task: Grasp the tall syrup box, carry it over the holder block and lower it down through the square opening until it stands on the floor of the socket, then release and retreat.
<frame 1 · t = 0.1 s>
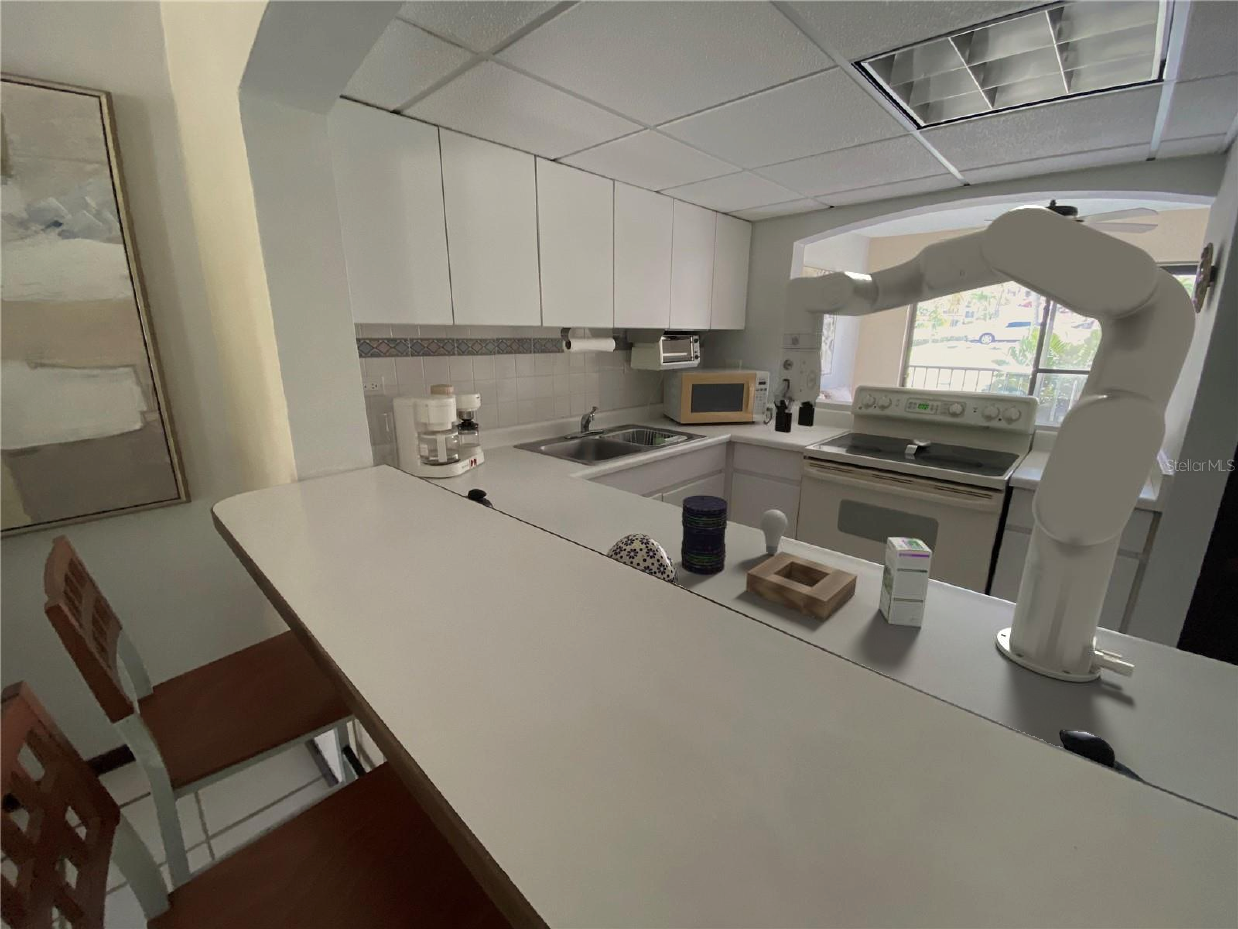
hand: (794, 428, 102), 31 cm above the counter, tool pointing down, fingers open, 9 cm apart
storage jar: (702, 566, 111), on the counter
syrup box: (898, 618, 89), on the counter
holder block: (799, 591, 99), on the counter
lightbulb: (771, 555, 116), on the counter
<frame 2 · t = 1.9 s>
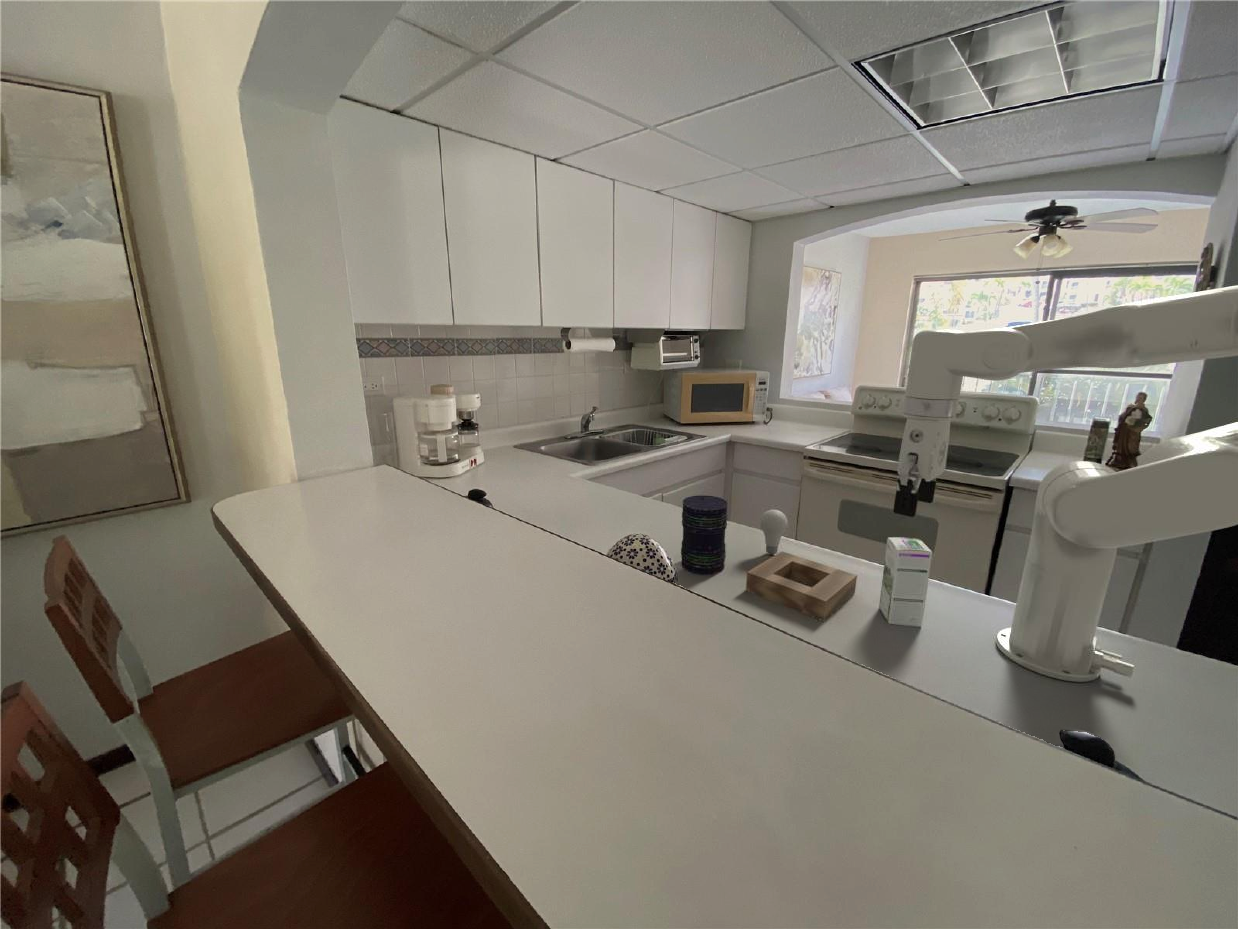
hand: (913, 507, 84), 21 cm above the counter, tool pointing down, fingers open, 9 cm apart
nothing on the counter moved.
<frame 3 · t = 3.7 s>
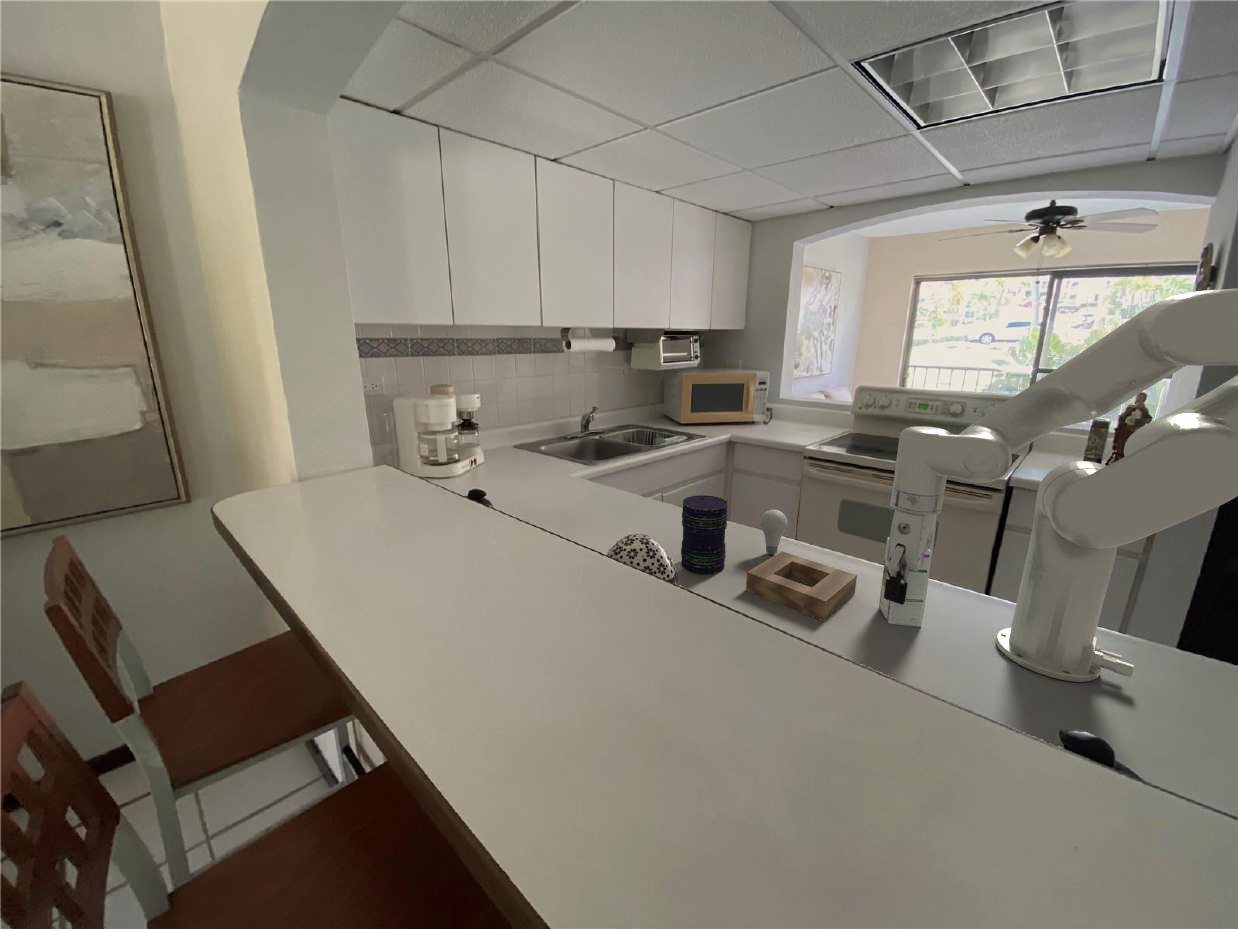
hand: (902, 592, 88), 5 cm above the counter, tool pointing down, fingers closed on syrup box, 7 cm apart
syrup box: (898, 618, 89), on the counter, touching gripper
everything else where it was.
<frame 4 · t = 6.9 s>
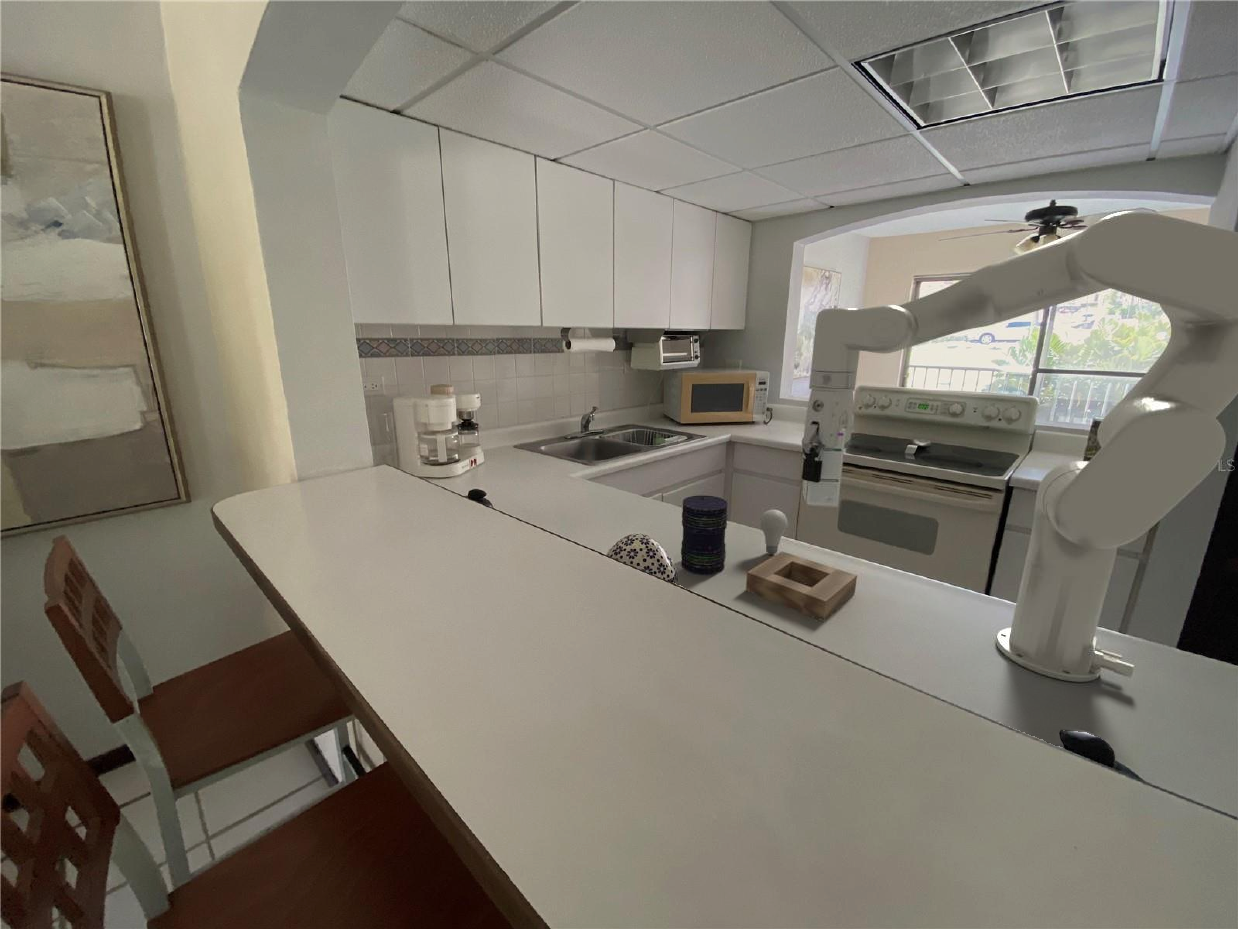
hand: (821, 475, 92), 24 cm above the counter, tool pointing down, fingers closed on syrup box, 7 cm apart
syrup box: (818, 502, 93), point 19 cm above the counter, touching gripper
everything else where it was.
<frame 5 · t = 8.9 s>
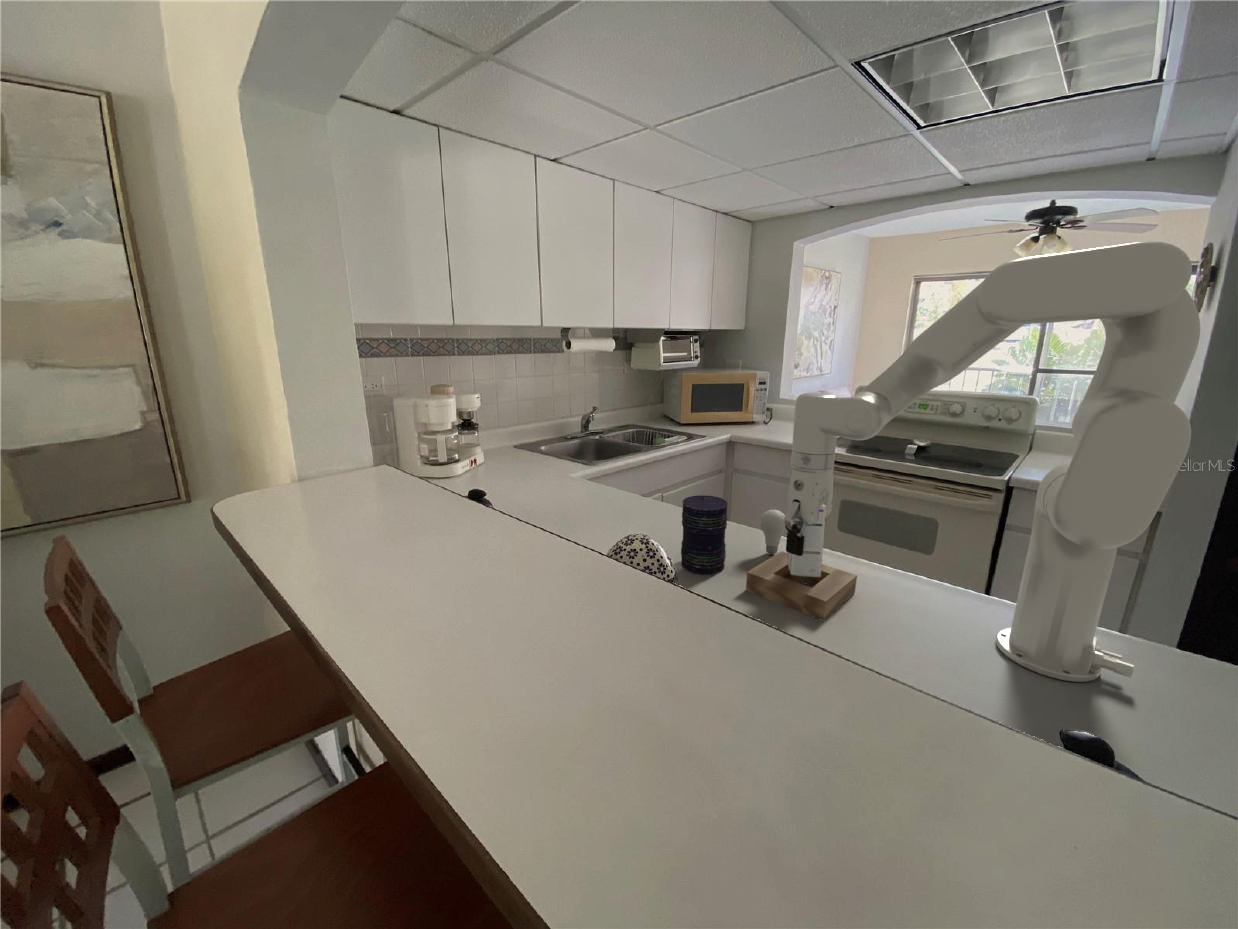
hand: (804, 546, 96), 10 cm above the counter, tool pointing down, fingers closed on syrup box, 7 cm apart
syrup box: (802, 571, 97), point 5 cm above the counter, touching gripper
everything else where it was.
when the fingers open (6 cm above the counter, at t = 10.3 s): syrup box drops 1 cm, resting in holder block.
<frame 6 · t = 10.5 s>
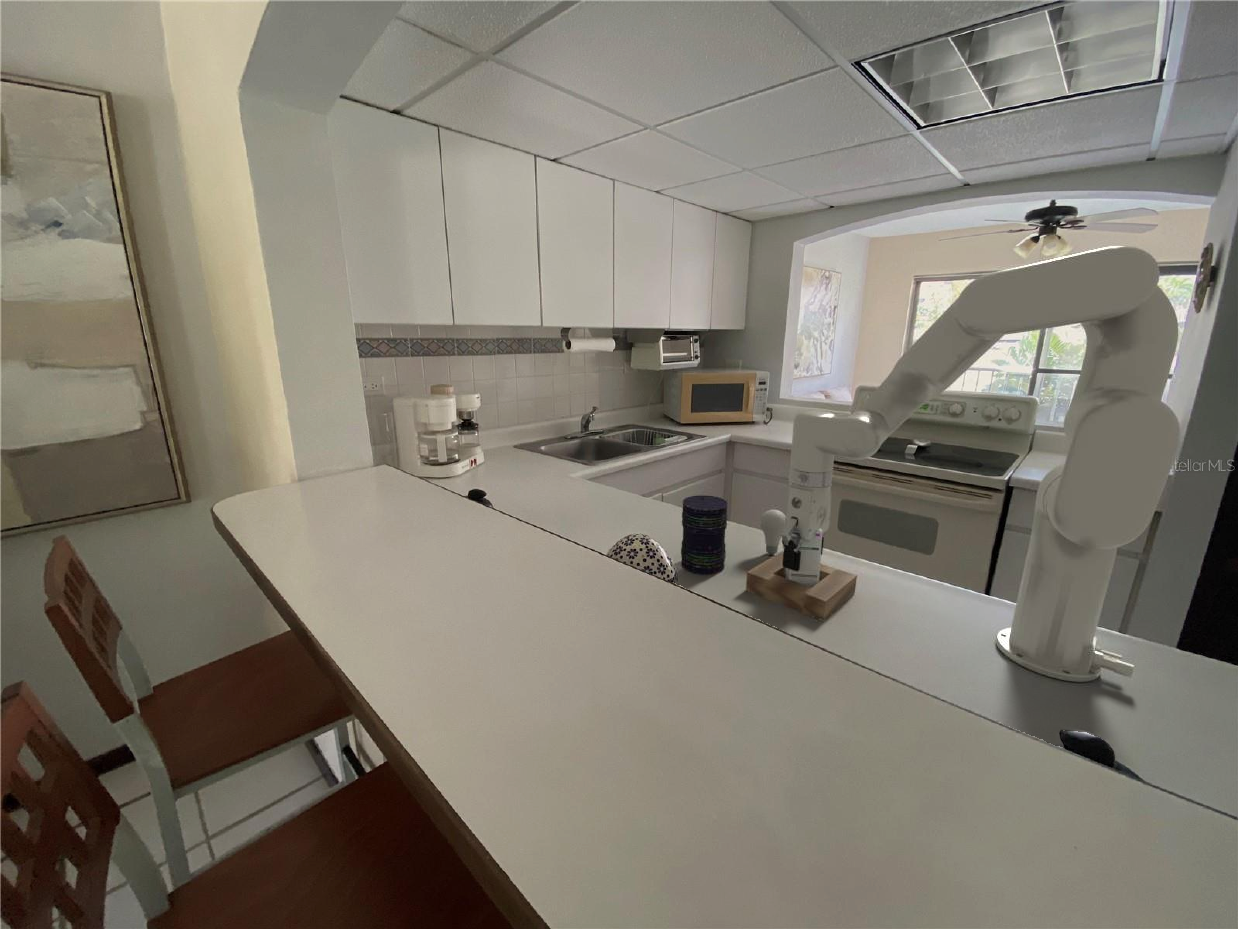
hand: (802, 560, 97), 7 cm above the counter, tool pointing down, fingers open, 9 cm apart
syrup box: (800, 593, 98), resting in holder block
everything else where it was.
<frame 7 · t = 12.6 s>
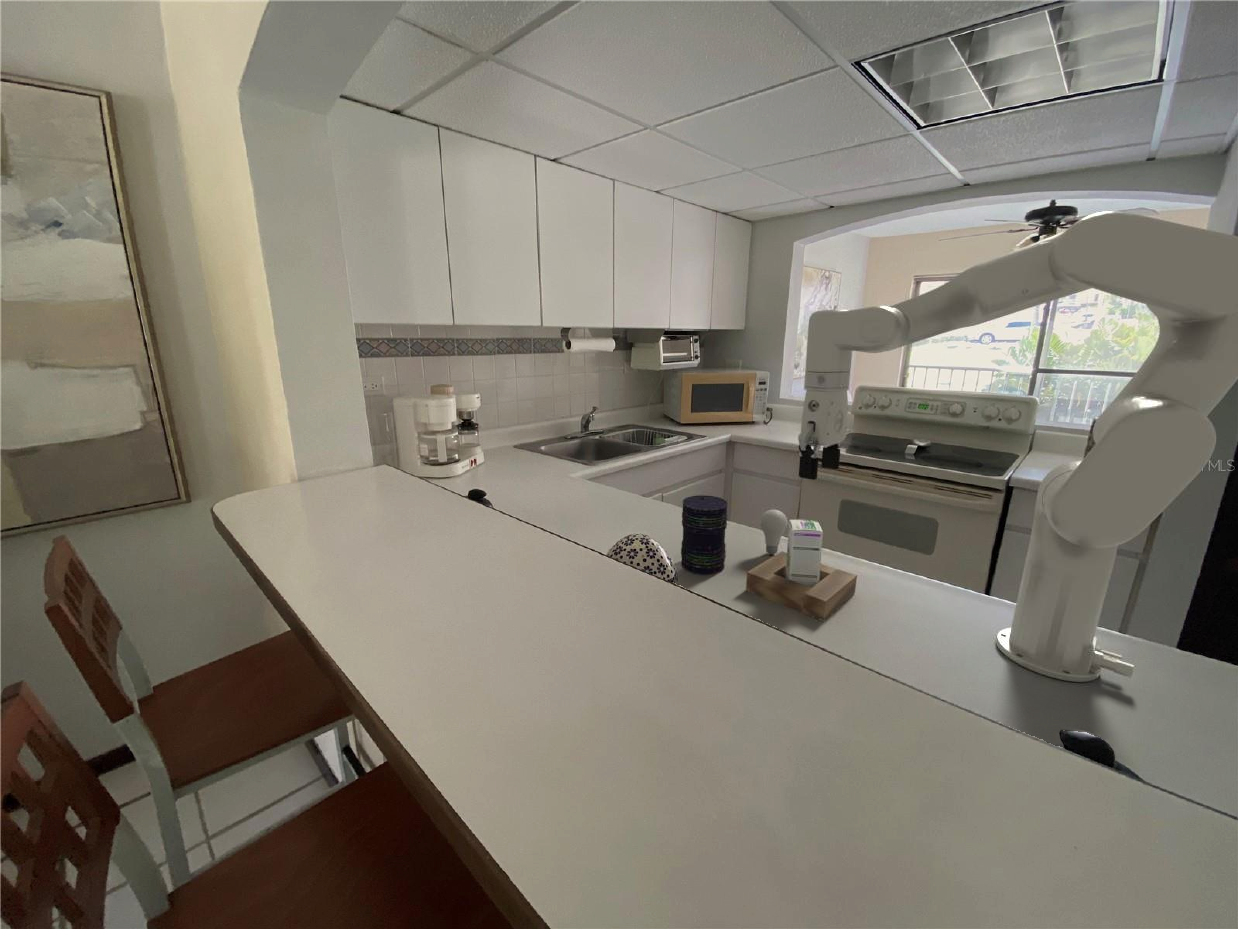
hand: (819, 473, 93), 25 cm above the counter, tool pointing down, fingers open, 9 cm apart
nothing on the counter moved.
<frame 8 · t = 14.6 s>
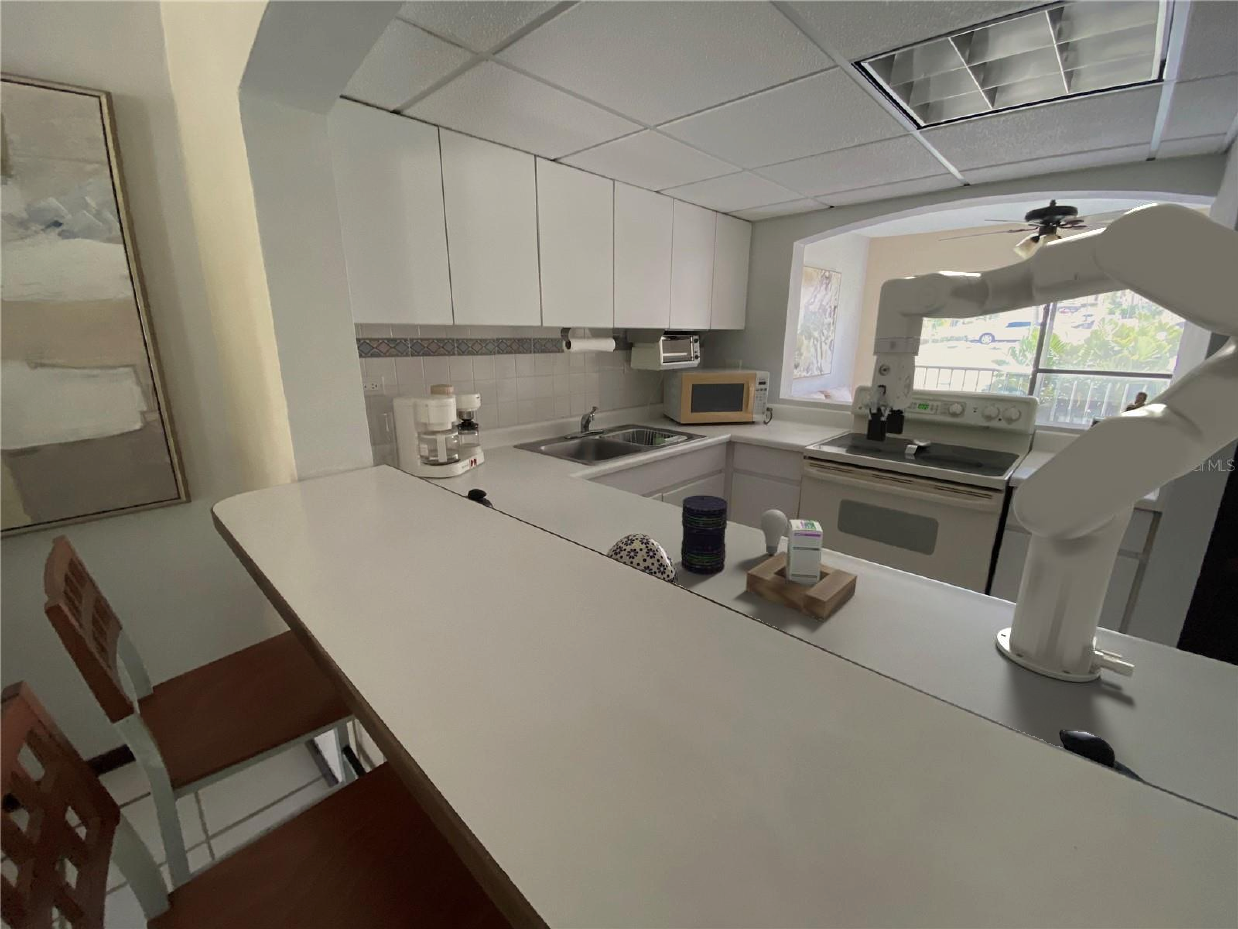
hand: (884, 436, 97), 30 cm above the counter, tool pointing down, fingers open, 9 cm apart
nothing on the counter moved.
at the end: syrup box 0.1 cm off-centre on the holder block, point 0.0 cm above the holder block's base; syrup box tilted 0°; the gripper is holding nothing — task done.
